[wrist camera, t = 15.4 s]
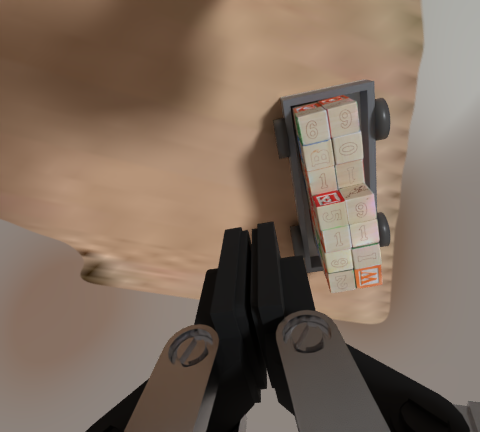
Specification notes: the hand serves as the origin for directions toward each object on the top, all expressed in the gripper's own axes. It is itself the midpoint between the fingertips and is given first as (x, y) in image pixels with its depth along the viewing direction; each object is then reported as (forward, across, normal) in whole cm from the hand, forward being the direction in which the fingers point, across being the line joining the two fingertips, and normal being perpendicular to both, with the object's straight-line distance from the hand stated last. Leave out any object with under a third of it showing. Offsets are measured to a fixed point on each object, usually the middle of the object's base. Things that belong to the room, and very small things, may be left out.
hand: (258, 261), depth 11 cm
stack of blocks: (+34, -8, +11) cm, 36 cm away
